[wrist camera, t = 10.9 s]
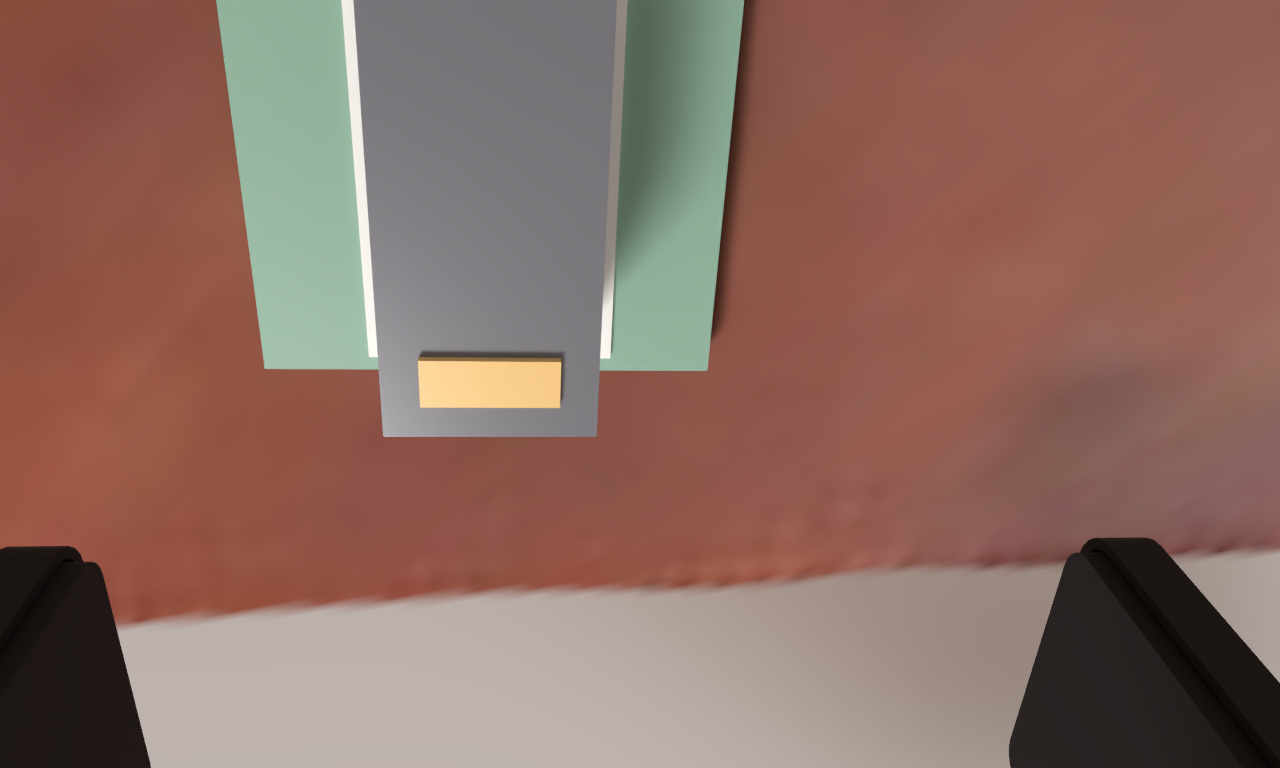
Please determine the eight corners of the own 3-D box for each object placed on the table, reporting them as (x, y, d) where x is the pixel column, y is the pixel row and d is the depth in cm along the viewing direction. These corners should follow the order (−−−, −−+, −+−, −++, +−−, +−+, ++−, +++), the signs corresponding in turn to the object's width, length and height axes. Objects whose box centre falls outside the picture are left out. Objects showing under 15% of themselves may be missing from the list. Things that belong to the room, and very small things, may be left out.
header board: (744, -105, 26) (794, -91, 21) (701, 353, 32) (731, 443, 27) (212, -136, 24) (137, -129, 20) (273, 350, 30) (228, 445, 26)
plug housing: (597, -40, 25) (618, -5, 19) (583, 329, 30) (597, 440, 24) (389, -52, 24) (350, -19, 19) (408, 327, 29) (382, 441, 24)
